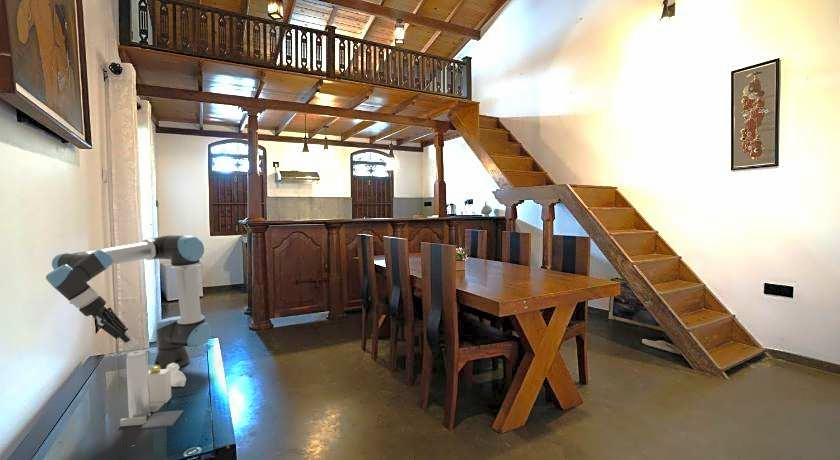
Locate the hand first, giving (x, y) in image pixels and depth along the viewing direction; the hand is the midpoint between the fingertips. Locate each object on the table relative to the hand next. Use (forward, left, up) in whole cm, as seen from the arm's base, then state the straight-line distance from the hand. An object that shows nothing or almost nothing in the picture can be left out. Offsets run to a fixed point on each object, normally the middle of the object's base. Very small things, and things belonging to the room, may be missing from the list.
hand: (134, 345), depth 156 cm
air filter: (+12, +6, -24) cm, 27 cm away
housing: (+6, +6, -24) cm, 25 cm away
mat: (+15, +15, -24) cm, 32 cm away
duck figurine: (-15, +8, -24) cm, 30 cm away
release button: (-1, +6, -13) cm, 15 cm away
